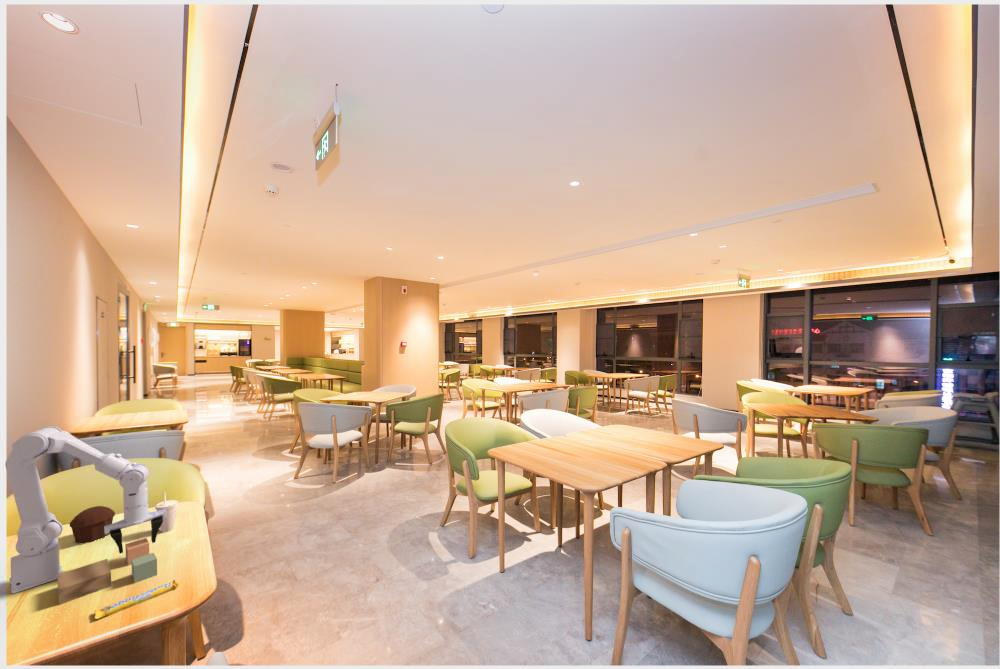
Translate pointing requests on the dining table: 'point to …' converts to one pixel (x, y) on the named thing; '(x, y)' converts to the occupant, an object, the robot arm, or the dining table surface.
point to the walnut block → (83, 581)
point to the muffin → (91, 524)
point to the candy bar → (135, 600)
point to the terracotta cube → (136, 550)
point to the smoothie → (171, 513)
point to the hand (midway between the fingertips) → (137, 546)
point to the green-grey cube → (144, 567)
